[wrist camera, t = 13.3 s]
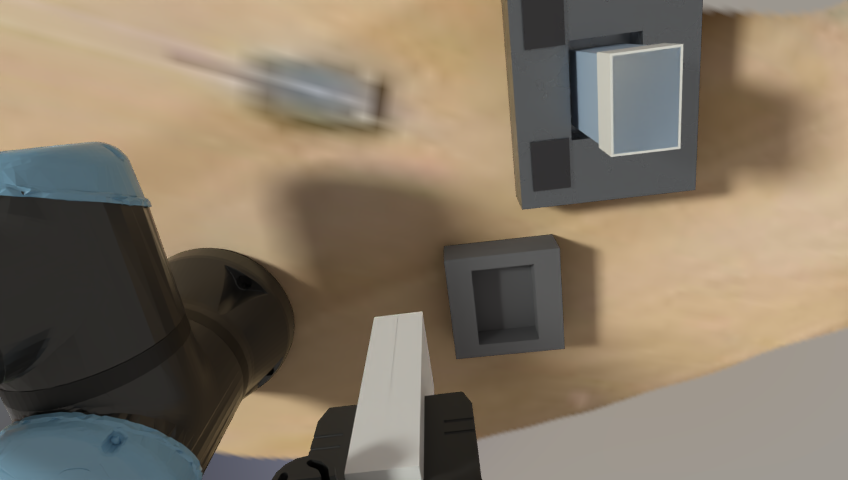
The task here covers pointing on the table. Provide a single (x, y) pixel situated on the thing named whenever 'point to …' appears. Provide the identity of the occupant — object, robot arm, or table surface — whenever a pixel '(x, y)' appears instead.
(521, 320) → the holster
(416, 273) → the table surface
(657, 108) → the plug
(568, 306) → the table surface
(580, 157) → the port panel
